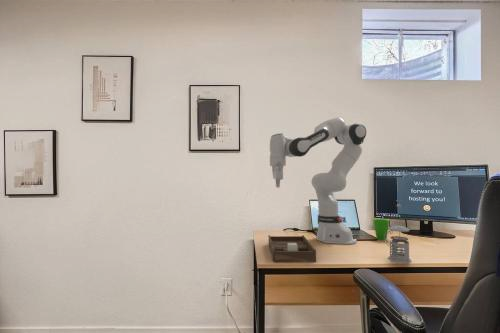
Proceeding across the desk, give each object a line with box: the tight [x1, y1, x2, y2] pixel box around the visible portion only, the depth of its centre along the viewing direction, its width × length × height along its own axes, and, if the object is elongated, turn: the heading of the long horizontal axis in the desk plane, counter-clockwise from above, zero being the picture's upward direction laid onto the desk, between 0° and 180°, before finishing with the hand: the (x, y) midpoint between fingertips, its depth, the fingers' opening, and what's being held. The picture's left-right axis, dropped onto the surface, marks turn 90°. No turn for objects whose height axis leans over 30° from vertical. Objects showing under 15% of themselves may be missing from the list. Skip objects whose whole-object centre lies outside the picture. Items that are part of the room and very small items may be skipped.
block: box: [287, 243, 297, 251], centre depth 133 cm, size 4×4×4 cm
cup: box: [372, 218, 390, 241], centre depth 169 cm, size 9×9×11 cm
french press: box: [384, 203, 413, 264], centre depth 131 cm, size 10×12×25 cm
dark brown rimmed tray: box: [268, 235, 317, 263], centre depth 142 cm, size 30×19×5 cm, turn 0°
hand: (277, 187), depth 161 cm, fingers closed
